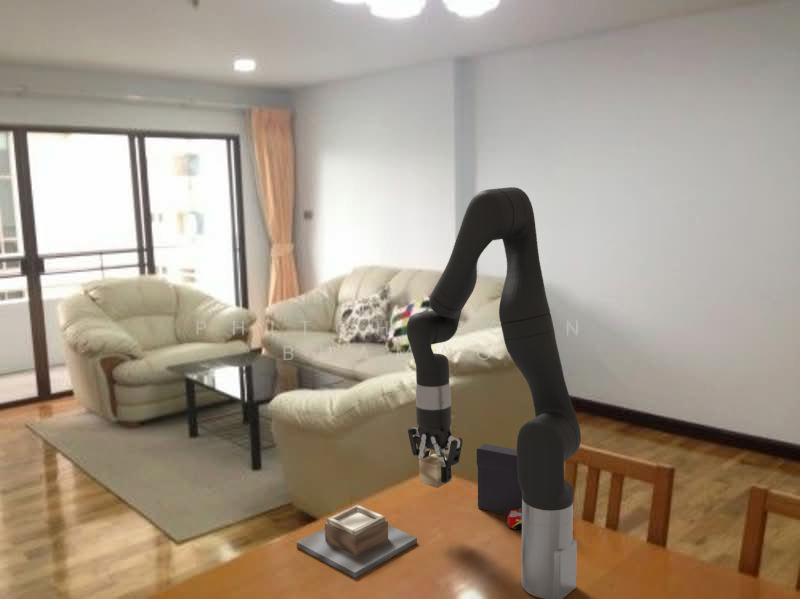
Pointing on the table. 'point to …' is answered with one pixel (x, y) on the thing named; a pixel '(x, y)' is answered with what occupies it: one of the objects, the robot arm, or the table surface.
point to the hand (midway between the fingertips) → (435, 478)
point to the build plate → (361, 559)
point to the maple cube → (431, 471)
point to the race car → (515, 519)
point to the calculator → (498, 479)
